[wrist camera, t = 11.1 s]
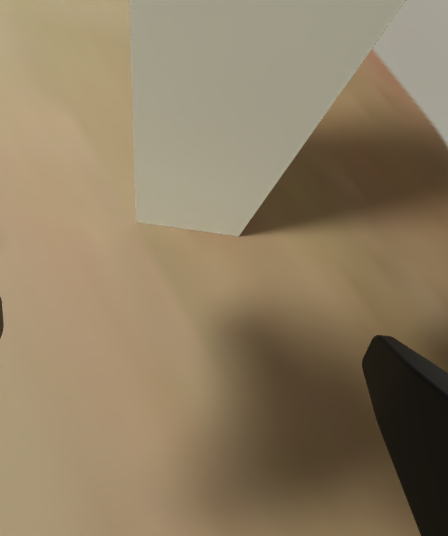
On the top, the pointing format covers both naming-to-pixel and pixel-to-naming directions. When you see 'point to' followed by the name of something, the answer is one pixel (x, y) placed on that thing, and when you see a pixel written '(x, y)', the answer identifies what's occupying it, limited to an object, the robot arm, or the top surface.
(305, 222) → the top surface
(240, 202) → the charger
